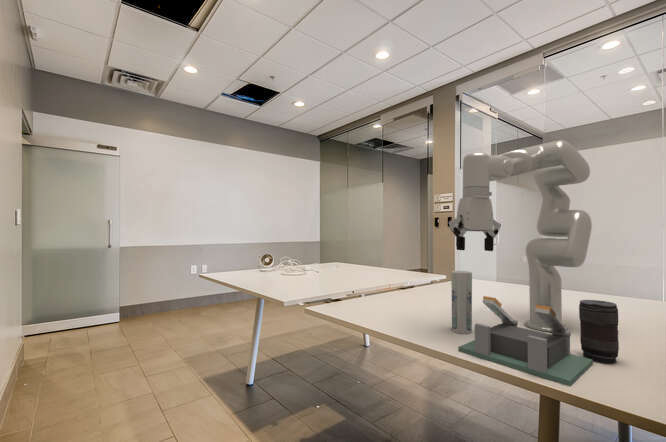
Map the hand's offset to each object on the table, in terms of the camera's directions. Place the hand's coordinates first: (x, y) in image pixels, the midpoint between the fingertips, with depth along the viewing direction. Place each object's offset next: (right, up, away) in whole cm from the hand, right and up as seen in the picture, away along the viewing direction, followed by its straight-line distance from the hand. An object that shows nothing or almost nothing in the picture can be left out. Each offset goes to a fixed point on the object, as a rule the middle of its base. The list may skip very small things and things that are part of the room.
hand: (474, 250), depth 97 cm
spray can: (+1, -29, +11) cm, 31 cm away
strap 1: (+4, -17, -5) cm, 19 cm away
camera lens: (+28, -28, -12) cm, 41 cm away
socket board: (+8, -28, -11) cm, 31 cm away
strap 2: (+12, -17, -16) cm, 26 cm away
